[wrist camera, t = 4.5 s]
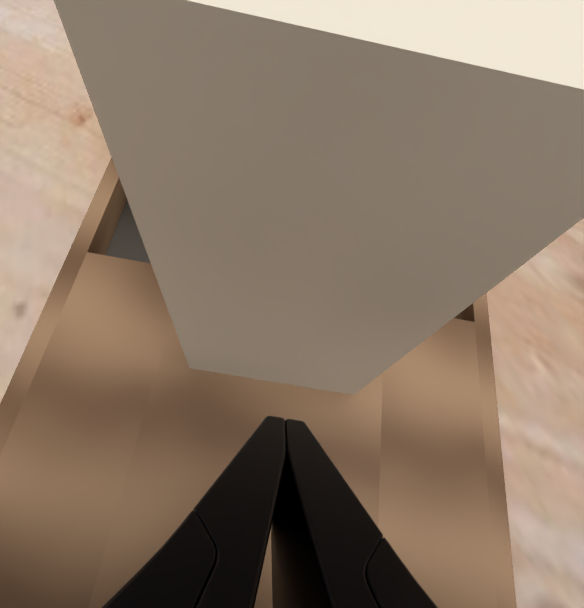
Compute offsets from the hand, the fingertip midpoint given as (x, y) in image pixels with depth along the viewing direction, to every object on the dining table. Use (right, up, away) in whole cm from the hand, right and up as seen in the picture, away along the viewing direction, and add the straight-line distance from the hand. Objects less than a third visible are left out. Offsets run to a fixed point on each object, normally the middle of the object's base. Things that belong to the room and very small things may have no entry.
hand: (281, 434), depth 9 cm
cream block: (0, +3, +9) cm, 10 cm away
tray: (0, +2, +11) cm, 11 cm away
